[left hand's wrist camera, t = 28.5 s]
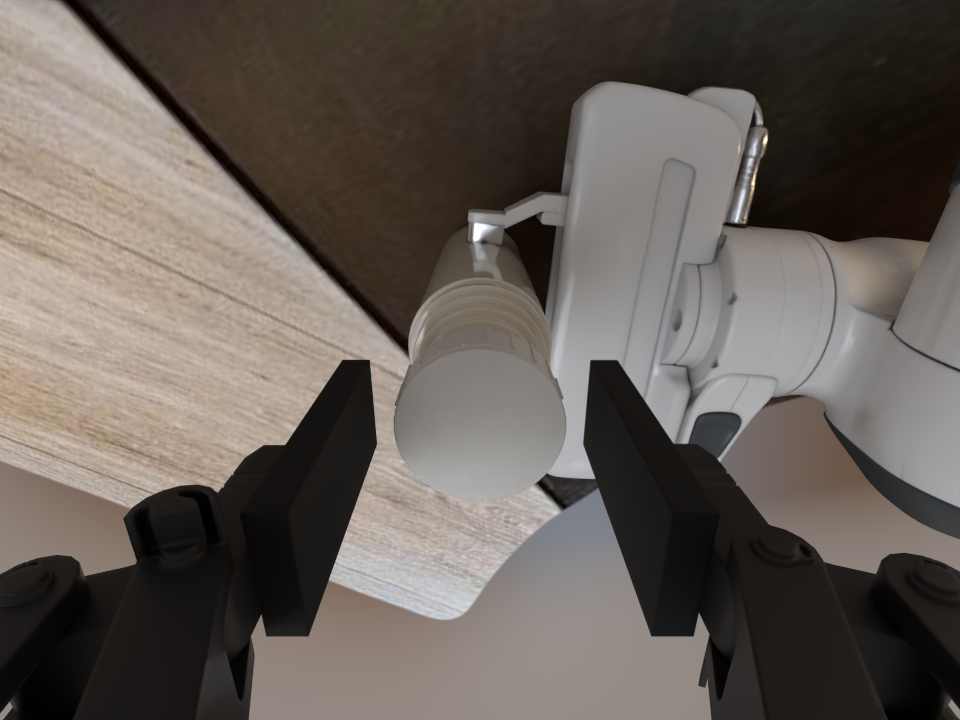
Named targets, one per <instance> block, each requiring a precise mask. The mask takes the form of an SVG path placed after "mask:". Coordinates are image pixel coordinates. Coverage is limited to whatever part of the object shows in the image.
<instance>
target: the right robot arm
mask: <svg viewBox="0 0 960 720" xmlns="http://www.w3.org/2000/svg"><path fill="white" fill-rule="evenodd" d="M752 115H753V127H750V123H751V119H752ZM768 138H769V129H768V128H766V127H763V113H762V109H761V106H760V104H759V102H758V101H757V99H756V98H755V97H754V96H753V95H752V94H751V93H749V92H747V91H745V90H742V89H740V88H729V87H718V86H705V87H701V88H698V89H696V90H693V91H692V92H690V93H689V94H687V95H686V96H684V95H681V94H677V93H673V92H669V91H665V90H661V89H657V88H652V87H647V86H642V85H635V84H629V83H622V82H612V81H608V82H602V83H599V84H597V85H595V86H593V87H592V88H590V89H589V90H587V91H586V92H585V93H584V94H583V95H582V96H581V97H580V98H579V99H578V100H576V102H575V103H574V104H573V107H572V112H571V119H570V126H569V134H568V142H567V149H566V157H565V164H564V172H563V180H562V187H561V193H551V192H537V193H535V194H533V195H531V196H529V197H527V198H525V199H523V200H521V201H519V202H517V203H515V204H513V205H511V206H509V207H507V208H505V209H504V211H496V210H484V209H469V213H468V227H467V241H468V242H472V243H481V242H483V241H486V242H487V243H490V244H494V245H502V241H503V233H504V228H507V227H510V226H512V225H514V224H516V223H518V222H520V221H522V220H524V219H527V218H529V217H531V216H533V215H535V214H537V216H536V217H537V218H538V220H539V221H540V222H541V223H542V224H545V225H555V226H556V233H555V240H554V248H553V255H552V263H551V270H550V278H549V286H548V293H547V301H546V308H545V317H546V319H547V322H548V324H549V328H550V332H551V340H552V347H551V359H550V368H551V371H552V373H553V376H554V378H557V380H558V383H559V386H560V389H561V392H562V395H563V398H564V399H562V403H563V406H564V409H565V415H566V435H565V440H564V444H563V447H562V450H561V452H560V454H559V456H558V458H557V460H556V461H555V463H554V465H553V466H552V467H551V469H550V470H549V471H548V472H547V473H548V474H550V475H553V476H557V477H566V478H581V479H595V476H594V474H593V471H592V468H591V465H590V462H589V460H588V457H587V454H586V451H585V448H584V446H583V438H584V427H585V415H586V404H587V393H588V381H589V370H590V360H618V362H619V363H620V365H621V366H622V368H623V369H624V371H625V372H626V374H627V375H628V376H629V378H630V379H631V381H632V382H633V384H634V385H635V387H636V388H637V390H638V391H639V393H640V394H641V396H642V397H643V399H644V400H645V402H646V403H647V405H648V406H649V408H650V409H651V411H652V412H653V414H654V415H655V417H656V418H657V420H658V421H659V423H660V424H661V426H662V427H663V429H664V430H665V432H666V433H667V435H668V436H669V437H670V439H671V440H672V442H673V443H674V444H698V445H699V446H701V447H702V448H704V449H705V450H707V451H708V452H710V453H711V454H713V455H714V456H715V457H716V458H717V459H718V460H719V462H721V460H722V459H723V457H724V456H725V455H726V453H727V452H728V450H729V449H730V447H731V446H732V445H733V443H734V442H735V440H736V439H737V438H738V436H739V435H740V434H741V432H742V431H743V430H744V428H745V427H746V426H747V424H748V423H749V422H750V421H751V420H752V418H753V417H754V416H755V415H756V414H757V412H758V411H759V410H760V409H761V408H762V407H763V406H764V405H765V404H766V403H767V402H768V401H769V400H770V398H771V397H780V396H787V395H805V396H809V397H812V398H814V399H816V400H818V401H820V402H821V403H822V404H823V405H824V407H825V409H826V411H825V412H824V417H825V419H826V421H827V423H828V424H829V426H830V428H831V430H832V431H833V433H834V434H835V436H836V437H837V438H838V440H839V441H840V443H841V444H842V445H843V447H844V448H845V449H846V451H847V452H848V453H849V455H850V456H851V457H852V459H853V460H854V462H855V463H856V464H857V466H858V467H859V468H860V470H861V471H862V473H863V474H864V475H865V477H866V478H867V479H868V480H869V482H870V483H871V484H872V485H873V486H874V487H875V488H876V489H877V490H878V491H879V492H880V493H881V494H882V495H883V496H884V497H885V498H887V499H888V500H889V501H890V502H891V503H893V504H894V505H895V506H897V507H898V508H899V509H901V510H902V511H903V512H904V513H906V514H907V515H909V516H910V517H912V518H913V519H915V520H917V521H918V522H920V523H922V524H924V525H926V526H928V527H930V528H932V529H934V530H937V531H939V532H942V533H944V534H947V535H949V536H952V537H955V538H958V539H960V157H959V160H958V163H957V166H956V169H955V172H954V175H953V178H952V181H951V184H950V187H949V190H948V192H949V194H950V198H949V200H948V202H947V205H946V207H945V209H944V211H943V214H942V216H941V218H940V220H939V223H938V225H937V227H936V229H935V232H934V234H933V236H932V238H931V241H930V242H923V241H915V240H905V239H895V238H883V237H872V238H863V239H857V240H853V241H848V242H836V241H832V240H829V239H827V238H825V237H822V236H820V235H817V234H814V233H810V232H806V231H797V230H786V229H773V228H761V227H751V226H747V225H746V223H747V219H748V216H749V212H750V208H751V204H752V201H753V197H754V192H755V186H756V181H755V180H756V179H757V175H756V174H757V173H758V168H759V165H760V162H761V158H763V157H764V154H765V152H766V148H767V144H768Z"/></svg>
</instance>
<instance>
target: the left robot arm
mask: <svg viewBox="0 0 960 720" xmlns="http://www.w3.org/2000/svg"><path fill="white" fill-rule="evenodd" d="M376 446H377V438H376V427H375V415H374V404H373V393H372V381H371V370H370V360H342V362H341V363H340V365H339V366H338V368H337V369H336V371H335V372H334V374H333V375H332V376H331V378H330V379H329V381H328V382H327V384H326V385H325V387H324V388H323V390H322V391H321V393H320V394H319V396H318V397H317V399H316V400H315V402H314V403H313V405H312V406H311V408H310V409H309V411H308V412H307V414H306V415H305V417H304V418H303V420H302V421H301V423H300V424H299V426H298V427H297V429H296V430H295V432H294V433H293V434H292V436H291V437H290V439H289V440H288V442H287V443H286V445H264V446H262V447H261V448H259V449H258V450H256V451H255V452H253V453H252V454H250V455H249V456H247V457H246V458H245V459H244V460H243V461H242V462H241V464H240V465H239V466H238V468H237V469H236V470H235V471H234V475H231V477H230V478H229V479H228V480H227V482H226V483H225V484H224V488H221V489H220V491H219V492H218V493H217V492H215V491H214V490H213V489H212V488H210V487H206V486H201V485H185V486H178V487H174V488H170V489H167V490H163V491H161V492H158V493H156V494H154V495H152V496H150V497H147V498H145V499H144V500H143V501H141V502H140V503H138V504H137V505H135V506H134V507H133V508H132V509H131V510H130V511H129V512H128V514H127V515H126V516H125V517H124V522H125V525H126V528H127V531H128V535H129V538H130V541H131V544H132V547H133V550H134V553H135V556H136V559H137V562H136V564H135V565H132V566H128V567H124V568H120V569H115V570H111V571H106V572H102V573H97V574H93V575H88V576H84V573H83V571H82V568H81V566H80V563H79V562H78V561H77V560H75V559H74V558H73V557H71V556H61V555H54V556H48V557H42V558H37V559H34V560H31V561H28V562H24V563H22V564H19V565H17V566H15V567H13V568H11V569H9V570H8V571H6V572H4V573H2V574H0V713H1V712H2V710H3V709H4V708H5V707H6V705H7V704H8V703H9V702H10V703H11V705H12V706H13V708H12V709H11V710H10V712H9V713H8V714H7V716H6V717H5V718H4V719H3V720H249V709H250V699H251V688H252V677H253V667H254V656H255V655H254V649H253V643H252V639H251V635H252V632H253V630H254V628H255V626H256V624H257V622H258V620H259V618H260V616H261V614H262V618H263V623H264V627H265V632H266V636H309V633H310V631H311V628H312V625H313V622H314V619H315V617H316V614H317V611H318V608H319V605H320V602H321V600H322V597H323V594H324V591H325V589H326V586H327V583H328V580H329V577H330V575H331V572H332V569H333V566H334V563H335V561H336V558H337V555H338V552H339V549H340V547H341V544H342V541H343V538H344V535H345V533H346V530H347V527H348V524H349V521H350V519H351V516H352V513H353V510H354V507H355V504H356V502H357V499H358V496H359V493H360V490H361V488H362V485H363V482H364V479H365V476H366V474H367V471H368V468H369V465H370V462H371V460H372V457H373V454H374V451H375V448H376ZM583 446H584V448H585V451H586V454H587V457H588V460H589V462H590V465H591V468H592V471H593V474H594V476H595V479H596V482H597V485H598V488H599V490H600V493H601V496H602V499H603V502H604V505H605V507H606V510H607V513H608V516H609V518H610V521H611V524H612V527H613V530H614V533H615V535H616V538H617V541H618V544H619V546H620V549H621V552H622V555H623V558H624V561H625V563H626V566H627V569H628V572H629V574H630V577H631V580H632V583H633V586H634V589H635V591H636V594H637V597H638V600H639V603H640V605H641V608H642V611H643V614H644V617H645V619H646V622H647V625H648V628H649V630H650V633H651V636H694V632H695V627H696V623H697V618H698V614H699V613H700V615H701V617H702V619H703V622H704V624H705V626H706V628H707V630H708V632H709V634H710V635H709V639H708V643H707V648H706V652H705V656H704V661H703V665H702V669H701V673H700V679H699V686H701V687H705V686H706V682H707V678H708V687H709V697H710V708H711V718H712V720H960V719H959V718H958V717H957V716H956V715H955V714H954V712H953V711H952V710H951V709H950V707H949V706H948V705H949V703H950V701H951V699H952V700H953V701H954V703H955V704H956V705H957V707H958V708H959V709H960V572H959V571H958V570H956V569H954V568H952V567H950V566H948V565H947V564H945V563H942V562H939V561H937V560H933V559H931V558H927V557H924V556H920V555H914V554H908V553H898V554H889V555H888V556H887V557H885V558H884V559H882V560H881V563H880V566H879V568H878V571H877V573H876V574H873V573H868V572H864V571H859V570H855V569H850V568H846V567H841V566H836V565H832V564H829V563H826V562H824V561H823V559H822V558H821V557H820V555H819V554H818V552H817V551H816V549H815V548H814V547H812V546H811V545H810V544H809V543H807V542H806V541H805V540H804V539H802V538H801V537H799V536H797V535H795V534H793V533H791V532H789V531H787V530H784V529H781V528H777V527H774V526H771V525H769V524H768V523H767V522H766V520H765V519H764V518H763V517H762V515H761V514H760V513H759V511H758V510H757V509H756V508H755V506H754V505H753V504H752V503H751V501H750V500H749V499H748V497H747V496H746V495H745V494H744V492H743V491H742V490H741V489H740V487H739V486H736V482H735V481H734V480H733V478H732V477H731V476H730V474H727V471H726V469H725V468H724V467H723V465H722V464H721V463H720V462H719V460H718V459H717V458H716V457H715V456H714V455H713V454H711V453H710V452H708V451H707V450H705V449H704V448H702V447H701V446H699V445H698V444H674V443H673V442H672V440H671V439H670V437H669V436H668V435H667V433H666V432H665V430H664V429H663V427H662V426H661V424H660V423H659V421H658V420H657V418H656V417H655V415H654V414H653V412H652V411H651V409H650V408H649V406H648V405H647V403H646V402H645V400H644V399H643V397H642V396H641V394H640V393H639V391H638V390H637V388H636V387H635V385H634V384H633V382H632V381H631V379H630V378H629V376H628V375H627V374H626V372H625V371H624V369H623V368H622V366H621V365H620V363H619V362H618V360H590V370H589V381H588V393H587V404H586V415H585V427H584V438H583Z"/></svg>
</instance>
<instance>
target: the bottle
mask: <svg viewBox="0 0 960 720" xmlns="http://www.w3.org/2000/svg"><path fill="white" fill-rule="evenodd" d="M467 227H468V226H467ZM467 227H464V228H462V229H460V230H459V231H457V232H455V233H454V234H453V235H452V236H451V237H450V238H449V239H448V240H447V242H446V243H445V245H444V246H443V248H442V251H441V253H440V256H439V258H438V261H437V263H436V265H435V268H434V270H433V273H432V275H431V278H430V280H429V283H428V285H427V288H426V290H425V293H424V295H423V297H422V300H421V302H420V305H419V307H418V310H417V312H416V315H415V317H414V320H413V323H412V325H411V329H410V334H409V357H410V364H411V365H412V364H413V363H414V361H415V360H416V358H417V357H418V356H419V355H420V354H421V351H422V349H423V348H425V349H426V348H427V347H428V346H429V345H430V344H432V343H433V342H435V341H437V340H438V339H440V337H441V335H444V336H446V335H448V334H451V333H454V332H457V331H462V330H463V328H466V329H477V328H482V329H487V327H490V329H494V330H499V331H503V332H506V333H509V334H510V332H512V333H513V335H514V336H516V337H518V338H520V339H522V340H524V341H525V342H527V343H528V344H530V343H532V344H533V346H534V349H536V350H537V351H538V352H539V353H540V355H541V356H542V357H543V358H544V359H547V360H548V362H549V365H550V359H551V347H552V340H551V332H550V328H549V324H548V322H547V319H546V317H545V315H544V312H543V310H542V307H541V305H540V302H539V300H538V297H537V295H536V292H535V290H534V287H533V285H532V282H531V280H530V277H529V275H528V273H527V270H526V268H525V265H524V263H523V260H522V258H521V255H520V253H519V250H518V248H517V246H516V244H515V243H514V241H513V240H512V239H511V238H510V237H509V236H508V235H507V234H506V233H505V232H504V233H503V241H502V245H494V244H490V243H487V242H486V241H483V242H481V243H472V242H468V241H467Z"/></svg>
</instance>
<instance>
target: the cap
mask: <svg viewBox="0 0 960 720" xmlns="http://www.w3.org/2000/svg"><path fill="white" fill-rule="evenodd" d="M562 399H564V398H563V395H562V392H561V389H560V386H559V383H558V380H557V378H554V376H553V373H552V371H551V368H550V365H549V362H548V360H547V359H544V358H543V357H542V356H541V355H540V353H539V352H538V351H537V350H536V349H534V346H533V344H532V343H530V344H528V343H527V342H525V341H524V340H522V339H520V338H518V337H516V336H514V335H513V333H512V332H510V334H509V333H506V332H503V331H499V330H494V329H490V327H487V329H482V328H477V329H466V328H463V330H462V331H457V332H454V333H451V334H448V335H446V336H444V335H441V337H440V339H438V340H437V341H435V342H433V343H432V344H430V345H429V346H428V347H427V348H426V349H425V348H423V349H422V351H421V354H420V355H419V356H418V357H417V358H416V360H415V361H414V363H413V364H412V365H411V364H410V365H409V367H408V370H407V373H406V375H405V378H404V381H403V384H402V385H401V388H400V391H399V394H398V397H397V400H396V402H395V406H396V410H395V416H394V434H395V440H396V443H397V446H398V450H399V452H400V454H401V456H402V458H403V460H404V461H405V463H406V464H407V466H408V467H409V468H410V470H411V471H412V472H413V473H414V474H415V475H416V476H417V477H418V478H419V479H420V480H421V481H423V482H424V483H425V484H427V485H428V486H430V487H431V488H433V489H435V490H437V491H439V492H441V493H443V494H446V495H448V496H452V497H455V498H459V499H465V500H473V501H487V500H496V499H501V498H505V497H509V496H512V495H514V494H517V493H519V492H522V491H523V490H525V489H527V488H529V487H531V486H532V485H533V484H535V483H536V482H538V481H539V480H540V479H541V478H542V477H543V476H544V475H545V474H546V473H547V472H548V471H549V470H550V469H551V467H552V466H553V465H554V463H555V461H556V460H557V458H558V456H559V454H560V452H561V450H562V447H563V444H564V440H565V435H566V415H565V409H564V406H563V403H562Z"/></svg>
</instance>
